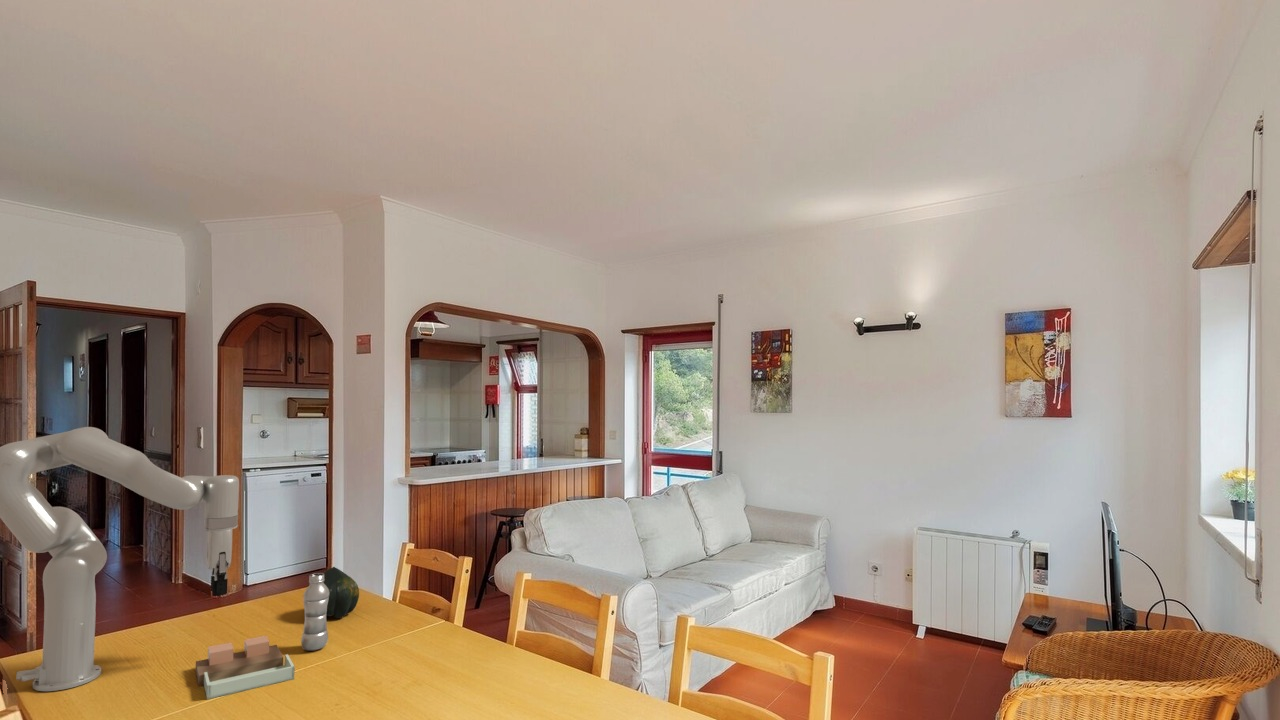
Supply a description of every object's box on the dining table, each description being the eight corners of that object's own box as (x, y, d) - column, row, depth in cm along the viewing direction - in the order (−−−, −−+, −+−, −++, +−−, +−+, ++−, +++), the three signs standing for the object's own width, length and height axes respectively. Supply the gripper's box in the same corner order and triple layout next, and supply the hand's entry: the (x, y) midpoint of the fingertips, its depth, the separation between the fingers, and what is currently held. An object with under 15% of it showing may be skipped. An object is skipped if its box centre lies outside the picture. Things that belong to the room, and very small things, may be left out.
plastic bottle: (295, 650, 179) (297, 576, 180) (317, 642, 185) (320, 570, 186) (311, 655, 176) (313, 579, 177) (333, 646, 182) (335, 573, 183)
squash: (331, 610, 196) (353, 563, 206) (288, 607, 199) (312, 561, 209) (354, 629, 205) (374, 583, 216) (313, 626, 209) (334, 581, 219)
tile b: (246, 657, 168) (247, 645, 169) (244, 651, 172) (244, 639, 172) (269, 653, 171) (269, 641, 172) (265, 646, 175) (266, 635, 176)
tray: (207, 699, 151) (207, 686, 152) (203, 685, 159) (204, 672, 159) (294, 678, 162) (294, 666, 163) (287, 666, 170) (287, 654, 170)
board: (198, 686, 158) (199, 675, 158) (195, 671, 166) (195, 661, 166) (283, 667, 169) (283, 657, 169) (276, 654, 177) (276, 644, 177)
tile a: (209, 665, 164) (209, 653, 164) (207, 658, 168) (208, 646, 168) (233, 660, 167) (233, 648, 167) (230, 654, 171) (231, 642, 171)
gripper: (201, 519, 179) (199, 587, 179) (207, 530, 166) (204, 604, 165) (233, 515, 184) (231, 582, 183) (241, 526, 171) (239, 598, 170)
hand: (218, 591), depth 174 cm, fingers open, 4 cm apart
